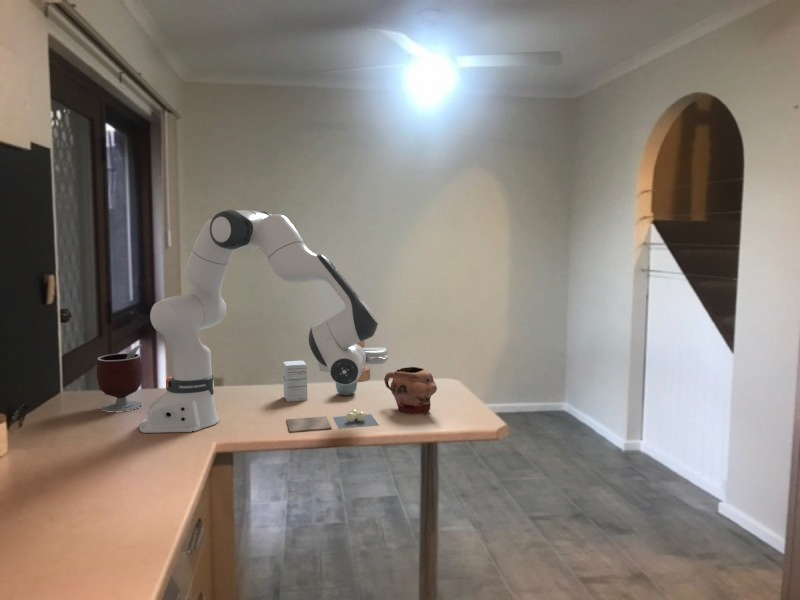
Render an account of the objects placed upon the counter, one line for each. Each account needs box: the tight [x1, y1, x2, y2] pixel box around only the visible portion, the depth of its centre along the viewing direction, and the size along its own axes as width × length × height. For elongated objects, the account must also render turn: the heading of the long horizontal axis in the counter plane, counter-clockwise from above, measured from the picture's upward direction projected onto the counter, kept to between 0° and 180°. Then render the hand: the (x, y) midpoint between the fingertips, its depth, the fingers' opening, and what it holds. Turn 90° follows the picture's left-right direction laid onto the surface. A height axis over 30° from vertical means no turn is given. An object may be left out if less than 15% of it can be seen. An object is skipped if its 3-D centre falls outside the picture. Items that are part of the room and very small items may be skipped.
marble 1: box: [349, 409, 359, 416], centre depth 191 cm, size 3×3×3 cm
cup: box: [334, 381, 358, 396], centre depth 223 cm, size 8×8×10 cm
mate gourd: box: [95, 344, 144, 412], centre depth 208 cm, size 16×14×20 cm
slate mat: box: [332, 413, 380, 430], centre depth 189 cm, size 12×12×1 cm
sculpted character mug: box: [384, 366, 438, 415], centre depth 201 cm, size 20×12×14 cm, turn 59°
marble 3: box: [356, 411, 366, 422], centre depth 189 cm, size 3×3×3 cm
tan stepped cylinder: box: [356, 340, 371, 383], centre depth 187 cm, size 9×9×13 cm
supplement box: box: [282, 360, 309, 402], centre depth 218 cm, size 7×7×13 cm
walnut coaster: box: [286, 415, 332, 433], centre depth 186 cm, size 12×12×1 cm
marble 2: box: [345, 412, 356, 423], centre depth 188 cm, size 3×3×3 cm
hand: (354, 350), depth 188 cm, fingers closed on tan stepped cylinder, 6 cm apart
